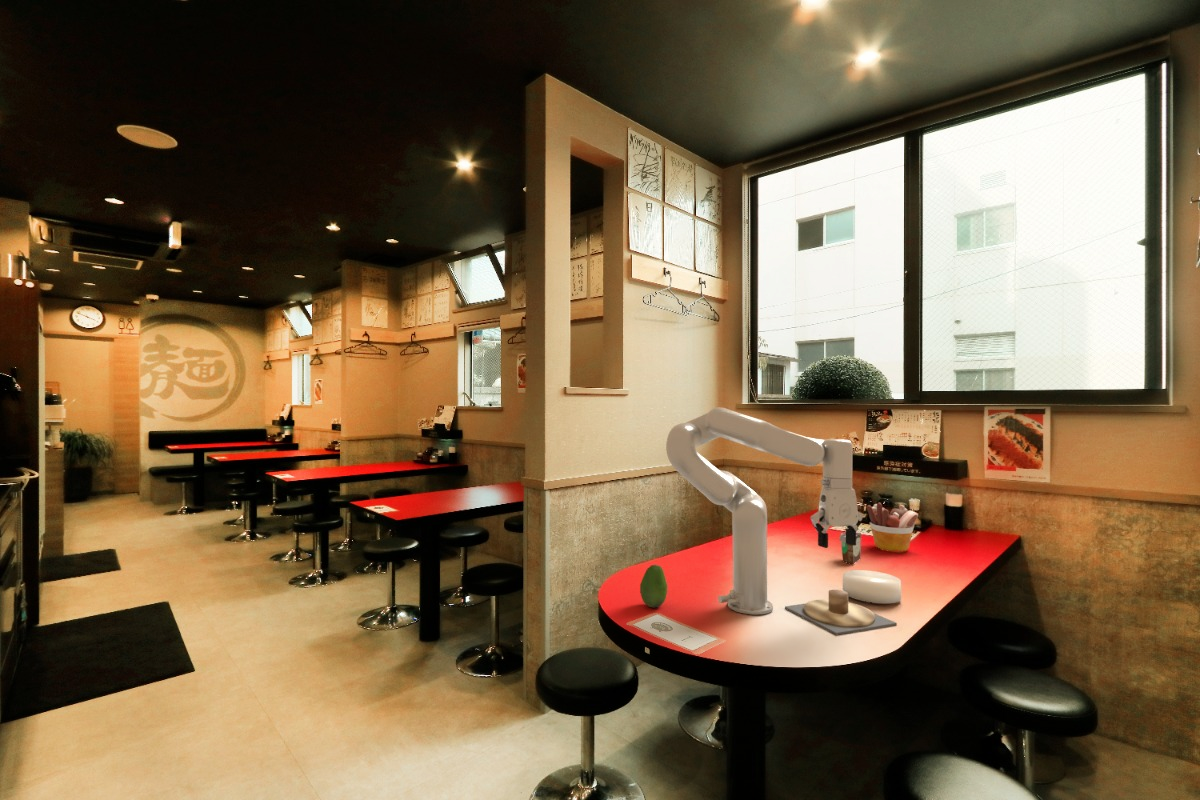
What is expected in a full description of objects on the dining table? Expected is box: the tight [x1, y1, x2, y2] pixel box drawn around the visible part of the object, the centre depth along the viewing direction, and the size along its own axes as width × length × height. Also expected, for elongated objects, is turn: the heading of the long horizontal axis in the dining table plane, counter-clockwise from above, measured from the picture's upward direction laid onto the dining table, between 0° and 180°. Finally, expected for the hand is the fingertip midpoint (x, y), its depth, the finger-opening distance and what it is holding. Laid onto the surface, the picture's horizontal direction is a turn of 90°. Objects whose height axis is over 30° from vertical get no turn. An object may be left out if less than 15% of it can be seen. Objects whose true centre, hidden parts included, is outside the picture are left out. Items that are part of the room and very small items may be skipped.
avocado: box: [639, 564, 668, 608], centre depth 159 cm, size 8×8×12 cm
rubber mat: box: [784, 602, 898, 636], centre depth 151 cm, size 20×20×1 cm
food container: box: [838, 532, 862, 565], centre depth 208 cm, size 12×6×10 cm, turn 141°
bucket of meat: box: [866, 502, 919, 552], centre depth 226 cm, size 20×16×20 cm
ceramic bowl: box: [842, 569, 902, 604], centre depth 166 cm, size 16×16×6 cm
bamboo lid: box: [803, 589, 875, 627], centre depth 151 cm, size 18×18×6 cm
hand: (837, 545), depth 151 cm, fingers open, 9 cm apart
